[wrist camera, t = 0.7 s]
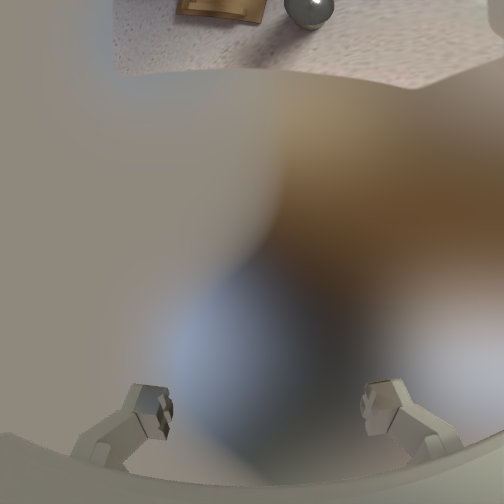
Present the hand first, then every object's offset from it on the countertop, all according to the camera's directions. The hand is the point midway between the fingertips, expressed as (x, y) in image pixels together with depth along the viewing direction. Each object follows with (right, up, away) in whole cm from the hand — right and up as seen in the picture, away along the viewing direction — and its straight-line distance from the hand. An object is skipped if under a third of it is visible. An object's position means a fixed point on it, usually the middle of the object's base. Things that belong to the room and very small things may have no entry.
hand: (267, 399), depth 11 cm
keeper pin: (+8, +41, +24) cm, 48 cm away
